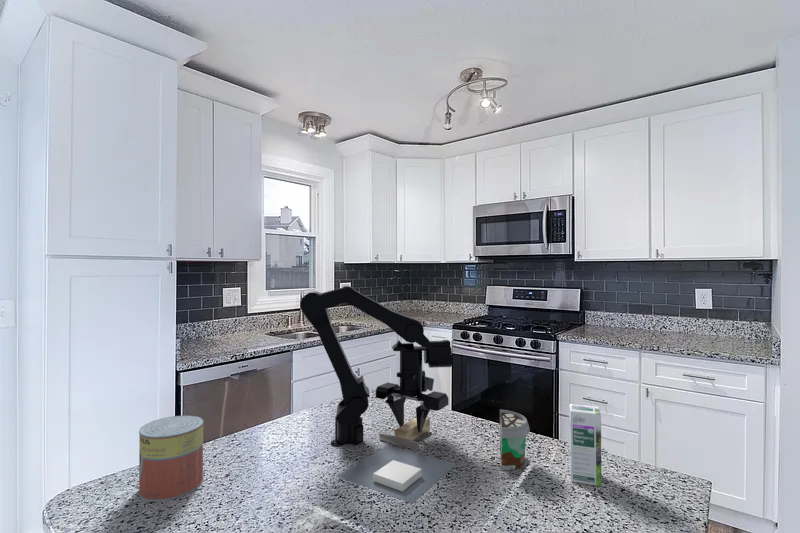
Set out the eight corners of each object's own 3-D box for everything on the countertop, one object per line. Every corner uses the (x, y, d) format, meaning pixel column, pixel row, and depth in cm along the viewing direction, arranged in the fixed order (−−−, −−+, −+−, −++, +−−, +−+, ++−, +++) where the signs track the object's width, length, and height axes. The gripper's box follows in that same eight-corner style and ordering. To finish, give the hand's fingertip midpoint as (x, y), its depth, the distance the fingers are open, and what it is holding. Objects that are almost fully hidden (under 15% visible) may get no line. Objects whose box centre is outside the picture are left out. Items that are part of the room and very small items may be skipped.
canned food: (144, 478, 85) (144, 419, 85) (204, 467, 90) (204, 412, 90) (133, 507, 75) (133, 440, 75) (202, 493, 79) (202, 431, 79)
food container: (532, 479, 85) (532, 430, 85) (501, 476, 86) (501, 428, 86) (526, 453, 97) (526, 410, 97) (499, 450, 98) (499, 408, 98)
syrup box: (570, 482, 83) (570, 410, 84) (569, 469, 89) (569, 402, 89) (601, 487, 81) (601, 414, 82) (598, 473, 87) (598, 405, 87)
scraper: (407, 427, 113) (407, 412, 113) (443, 436, 107) (443, 420, 107) (379, 443, 102) (379, 427, 102) (417, 454, 96) (417, 437, 96)
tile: (393, 467, 88) (373, 481, 82) (393, 460, 88) (373, 473, 82) (421, 477, 84) (402, 492, 78) (421, 468, 84) (402, 483, 78)
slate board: (337, 479, 84) (337, 475, 84) (388, 448, 99) (388, 444, 99) (412, 508, 74) (412, 503, 74) (456, 468, 89) (456, 464, 89)
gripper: (458, 366, 106) (458, 427, 106) (398, 357, 116) (397, 413, 116) (437, 375, 96) (437, 442, 96) (374, 365, 107) (373, 425, 107)
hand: (410, 429), depth 104 cm, fingers open, 5 cm apart
